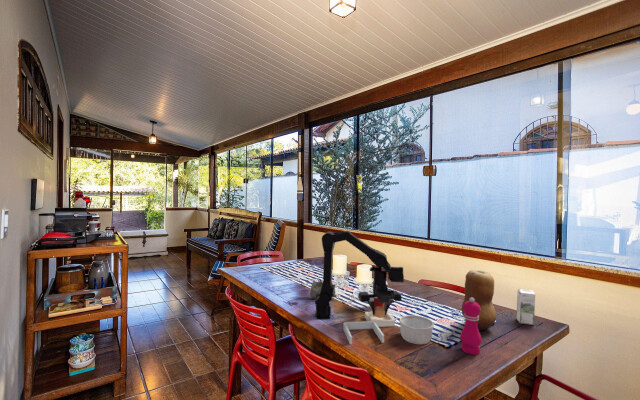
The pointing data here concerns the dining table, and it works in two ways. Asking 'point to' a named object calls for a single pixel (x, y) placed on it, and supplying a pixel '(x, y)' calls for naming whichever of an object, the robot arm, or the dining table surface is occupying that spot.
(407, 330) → the ramekin
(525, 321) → the syrup box
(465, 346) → the pepper mill
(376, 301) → the paper cup
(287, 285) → the dining table surface
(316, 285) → the mineral rock
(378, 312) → the ball
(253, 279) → the dining table surface
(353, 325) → the white c-shaped bracket
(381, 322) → the dish
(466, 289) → the butternut squash
